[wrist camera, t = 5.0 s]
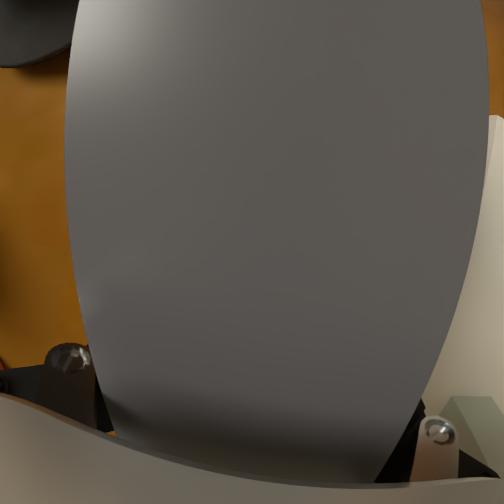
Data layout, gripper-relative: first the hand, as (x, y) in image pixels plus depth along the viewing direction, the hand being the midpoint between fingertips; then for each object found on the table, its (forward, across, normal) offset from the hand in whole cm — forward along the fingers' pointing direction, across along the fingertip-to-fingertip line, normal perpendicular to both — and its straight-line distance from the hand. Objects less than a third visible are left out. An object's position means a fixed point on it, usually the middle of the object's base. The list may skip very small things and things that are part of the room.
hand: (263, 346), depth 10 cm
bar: (+2, 0, 0) cm, 2 cm away
